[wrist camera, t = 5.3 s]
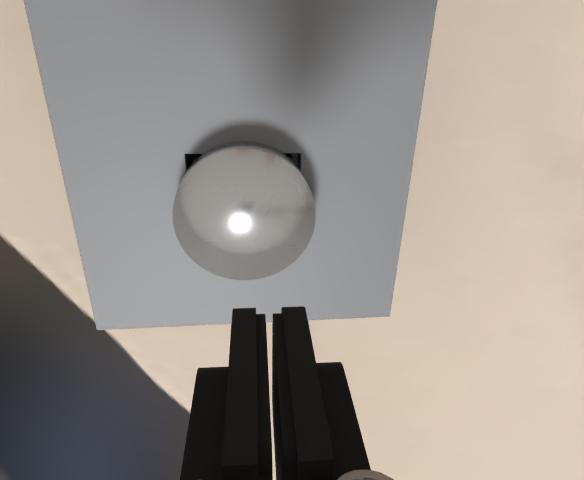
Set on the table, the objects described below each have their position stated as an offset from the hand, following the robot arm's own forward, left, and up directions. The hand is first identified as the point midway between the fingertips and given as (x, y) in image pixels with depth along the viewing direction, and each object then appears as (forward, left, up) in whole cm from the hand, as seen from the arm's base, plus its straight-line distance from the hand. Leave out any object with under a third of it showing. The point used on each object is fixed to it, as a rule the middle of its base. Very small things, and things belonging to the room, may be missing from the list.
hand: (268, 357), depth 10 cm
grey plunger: (0, 0, -14) cm, 14 cm away
